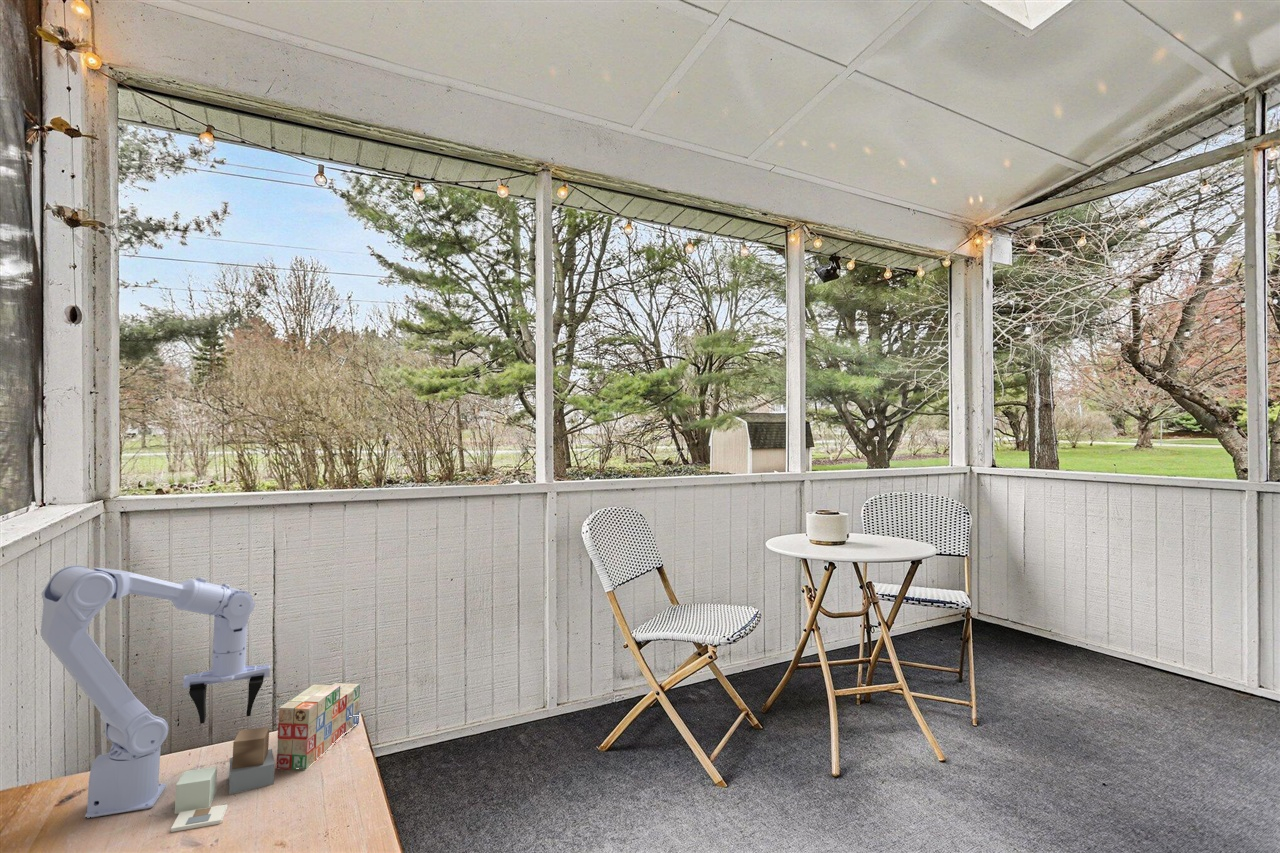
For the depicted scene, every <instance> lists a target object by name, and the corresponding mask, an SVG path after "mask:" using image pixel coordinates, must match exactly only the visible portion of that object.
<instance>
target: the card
mask: <svg viewBox="0 0 1280 853" xmlns="http://www.w3.org/2000/svg"><path fill="white" fill-rule="evenodd" d="M227 811H228V804H227V803H226V804H219V805H216V806H210V807H208V808H202V809H196V810H190V811H184V812H180V813H178V815H177V817H176V818H175V820H174V822H173V824H172V825H171V828H170V833H175V832H180V831H186V830H192V829H198V828H203V827H209V826H214V825H220V824H222V822H223V819H224V817H225V815H226V812H227Z"/></svg>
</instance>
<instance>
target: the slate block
mask: <svg viewBox="0 0 1280 853" xmlns="http://www.w3.org/2000/svg"><path fill="white" fill-rule="evenodd" d="M232 760H233V756H231V757H229V771H228V772H229V773H228V790H229V792H228V793H229V794H228V795H234V794H238V793H243V792H246V791H251V790H255V789H258V788H264V787H266V786H271V785H275V784H274V781H275V758H274V753H273V749H272V748H270V749H269V748H268V754H267V756H266V759H265V761H264V764H263V765H259V766H252V767H245V768H237V769H232Z"/></svg>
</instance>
